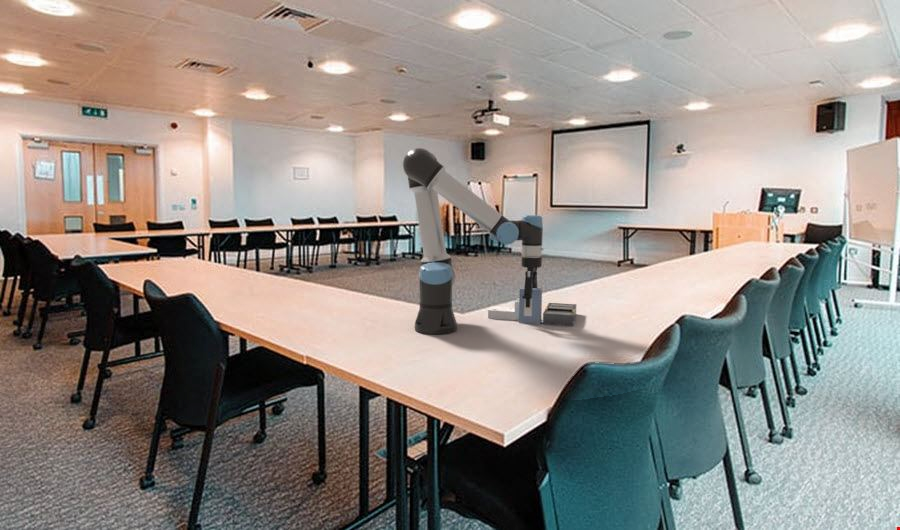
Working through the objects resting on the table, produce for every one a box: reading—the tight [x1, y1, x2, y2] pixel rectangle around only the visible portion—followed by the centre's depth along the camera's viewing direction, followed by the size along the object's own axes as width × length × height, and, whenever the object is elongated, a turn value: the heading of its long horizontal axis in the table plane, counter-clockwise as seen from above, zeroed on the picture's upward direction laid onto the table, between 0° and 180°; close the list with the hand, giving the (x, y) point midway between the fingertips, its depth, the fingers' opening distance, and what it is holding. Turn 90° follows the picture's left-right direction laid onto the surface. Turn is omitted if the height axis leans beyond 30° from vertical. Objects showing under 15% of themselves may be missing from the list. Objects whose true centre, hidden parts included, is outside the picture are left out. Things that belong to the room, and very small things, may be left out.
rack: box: [542, 302, 577, 327], centre depth 210 cm, size 11×21×4 cm, turn 164°
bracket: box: [487, 297, 519, 321], centre depth 212 cm, size 13×7×8 cm, turn 75°
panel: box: [518, 287, 543, 325], centre depth 203 cm, size 8×4×13 cm, turn 74°
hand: (530, 312), depth 203 cm, fingers open, 13 cm apart
